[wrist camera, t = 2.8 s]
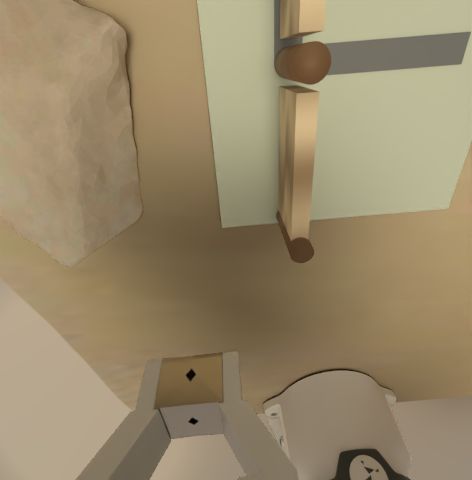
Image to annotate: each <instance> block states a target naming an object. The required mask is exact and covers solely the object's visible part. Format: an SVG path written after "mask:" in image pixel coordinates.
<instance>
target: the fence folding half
mask: <svg viewBox="0 0 472 480" xmlns="http://www.w3.org/2000/svg"><path fill="white" fill-rule="evenodd" d="M318 104H319V91H316V90H312V89H309V88H306V87H302V86H299V85H291V86H280V102H279V210H278V211H277V213H276V218H277V221H278V223H279V226H280V229H281V232H282V234H283V237H284V240H285V243H286V245H287V248H288V251H289V254H290V256H291V259H292V260H293V261H294V262H297V263H304V262H307V261H309V260H310V259H311V258H312V257H313V254H314V249H313V247H312V245H311V243H310V241H309V239H308V238H309V225H310V211H311V198H312V184H313V171H314V158H315V144H316V131H317V117H318Z"/></svg>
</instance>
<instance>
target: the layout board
mask: <svg viewBox="0 0 472 480" xmlns="http://www.w3.org/2000/svg"><path fill="white" fill-rule="evenodd" d="M197 5H198V14H199V23H200V32H201V42H202V51H203V60H204V69H205V78H206V87H207V96H208V105H209V114H210V123H211V132H212V141H213V151H214V160H215V169H216V178H217V187H218V196H219V205H220V214H221V223H222V228H227V227H238V226H250V225H262V224H274V223H278V221H277V218H276V213H277V211H278V210H279V102H280V86H291V85H299V86H302V87H306V88H309V89H312V90H316V91H319V104H318V117H317V131H316V144H315V158H314V171H313V184H312V198H311V211H310V220H320V219H332V218H344V217H356V216H367V215H379V214H391V213H403V212H414V211H426V210H438V209H448V207H449V204H450V201H451V198H452V195H453V193H454V190H455V187H456V184H457V181H458V178H459V176H460V173H461V170H462V167H463V164H464V161H465V159H466V156H467V153H468V150H469V147H470V144H471V142H472V0H326V10H325V23H324V31H321V32H317V33H314V34H311V35H307V36H304V37H300V38H291V39H280V0H197ZM311 41H319V42H322V43H323V44H325V45H326V46H327V47H328V49H329V51H330V54H331V66H330V69H329V72H328V73H327V75H326V76H325V78H324V79H323V80H321V81H320V82H318V83H316V84H313V85H308V84H303V83H300V82H296V81H292V80H288V79H285V78H282V77H280V76H279V75H278V74H277V73H276V71H275V68H274V62H275V58H276V55H277V54H278V52H279V51H280V50H281V49H283V48H285V47H288V46H293V45H298V44H302V43H307V42H311Z"/></svg>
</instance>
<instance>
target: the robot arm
mask: <svg viewBox="0 0 472 480" xmlns="http://www.w3.org/2000/svg"><path fill="white" fill-rule="evenodd" d="M395 402H396V397H395V395H394V392H393V391H391V390H389V389H386V388H383V387H381V386H379V385H378V384H377V383H376V381H375V380H373V379H372V378H371V377H369V376H367V375H365V374H362V373H359V372H354V371H329V372H323V373H319V374H315V375H312V376H309V377H306V378H304V379H302V380H300V381H298V382H296V383H295V384H293V385H292V386H290V387H289V388H288V389H287V390H286V391H284V392H283V393H282V394H281V395H279V396H277V397H275V398H273V399H271V400H269V401H267V402H265V403H264V404H263V409H264V413H265V415H266V417H267V420H268V422H269V424H270V427H271V429H272V432H273V434H274V437H275V439H276V440H275V439H274V438H273V436H272V435H271V434H270V432H269V431H268V429H267V428H266V427H265V425H264V424H263V423H262V421H261V420H260V418H259V417H258V416H257V414H256V413H255V412H254V410H253V409H252V407H251V406H250V405H249V403H248V402H247V401H246V400H245V401H242V389H241V379H240V369H239V359H238V351H234V352H226V353H222V352H221V353H212V354H203V355H194V356H188V357H176V358H162V359H152V360H148V361H147V363H146V366H145V370H144V374H143V379H142V383H141V388H140V392H139V396H138V401H137V405H136V410H135V411H134V412H130V413H129V414H128V416H127V417H126V418H125V419H124V421H123V422H122V423H121V424H120V425H119V427H118V428H117V429H116V430H115V432H114V433H113V434H112V435H111V437H110V438H109V439H108V440H107V442H106V443H105V444H104V445H103V447H102V448H101V449H100V450H99V451H98V453H97V454H96V455H95V457H94V458H93V459H92V460H91V461H90V463H89V464H88V465H87V466H86V468H85V469H84V470H83V471H82V473H81V474H80V475H79V476H78V477H77V479H76V480H149V479H150V477H151V476H152V474H153V472H154V471H155V469H156V467H157V465H158V463H159V462H160V460H161V458H162V456H163V455H164V453H165V451H166V449H167V448H168V446H169V444H170V442H171V439H175V438H184V437H191V436H199V435H214V434H224V436H225V438H226V439H227V441H228V443H229V445H230V447H231V449H232V450H233V452H234V454H235V456H236V457H237V459H238V461H239V463H240V465H241V467H242V468H243V470H244V472H245V474H246V476H243V477H239V478H238V480H410V479H409V478H408V476H407V474H408V470H409V468H410V466H411V463H412V456H411V453H410V451H409V449H408V446H407V444H406V441H405V439H404V436H403V434H402V432H401V429H400V427H399V425H398V422H397V420H396V418H395V415H394V413H393V410H392V408H391V407H392V406H393V404H394V403H395Z"/></svg>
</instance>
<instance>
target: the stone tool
mask: <svg viewBox="0 0 472 480" xmlns="http://www.w3.org/2000/svg"><path fill="white" fill-rule="evenodd" d="M127 47H128V45H127V38H126V32H125V29H124V28H123V27H121V26H120V25H119V24H118V23H117V22H116V21H115V20H114V19H113V18H112V17H110V16H108V15H106V14H104V13H102V12H100V11H98V10H96V9H92V8H88V7H85V6H82V5H80V4H78V3H77V2H75V1H73V0H0V217H2V218H3V219H4V220H5V221H7V222H8V223H9V224H10V225H11V226H12V228H13V229H14V231H15V232H16V234H18V235H19V236H21V237H23V238H25V239H27V240H29V241H31V242H33V243H35V244H36V245H37V246H38V247H40V248H41V249H43V250H45V251H46V252H48V253H49V254H50V255H51V256H52V257H53V258H54V259H55V260H56V261H58V262H59V263H61V264H63V265H65V266H73V265H75V264H77V263H78V262H79V261H81V260H82V259H84V258H85V257H86V256H88V255H89V254H91V253H92V252H94V251H95V250H97V249H98V248H100V247H101V246H103V245H104V244H106V243H107V242H108V241H110V240H111V239H113V238H114V237H115V236H117V235H118V234H119V233H121V232H122V231H124V230H125V229H126V228H128V227H129V226H130V225H132V224H133V223H134V222H136V221H137V220H138V219H139V218H140V216H141V214H142V212H143V204H142V200H141V194H140V189H139V182H140V177H139V171H138V167H137V149H136V145H135V141H134V137H133V132H132V130H133V122H132V114H131V108H130V89H129V81H128V77H127V72H126V62H125V53H126V50H127ZM79 130H80V131H79Z"/></svg>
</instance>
